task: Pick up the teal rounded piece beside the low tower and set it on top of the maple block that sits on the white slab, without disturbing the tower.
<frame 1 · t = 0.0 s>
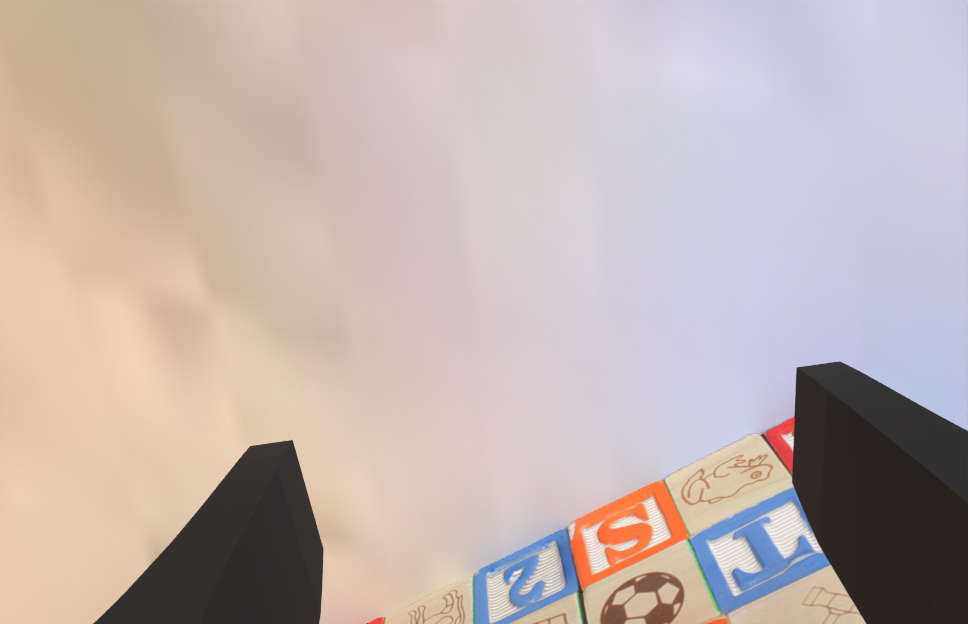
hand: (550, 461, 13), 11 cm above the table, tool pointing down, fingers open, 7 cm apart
stack of blocks: (565, 618, 26), on the table
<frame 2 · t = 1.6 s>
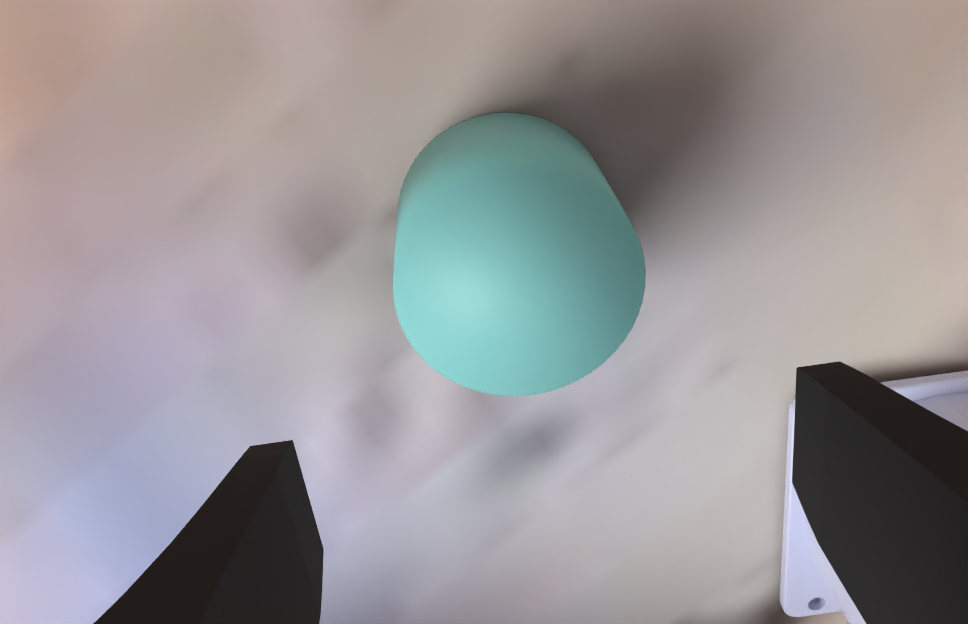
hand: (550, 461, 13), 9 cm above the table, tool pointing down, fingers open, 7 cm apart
teal rounded piece: (503, 216, 21), on the table
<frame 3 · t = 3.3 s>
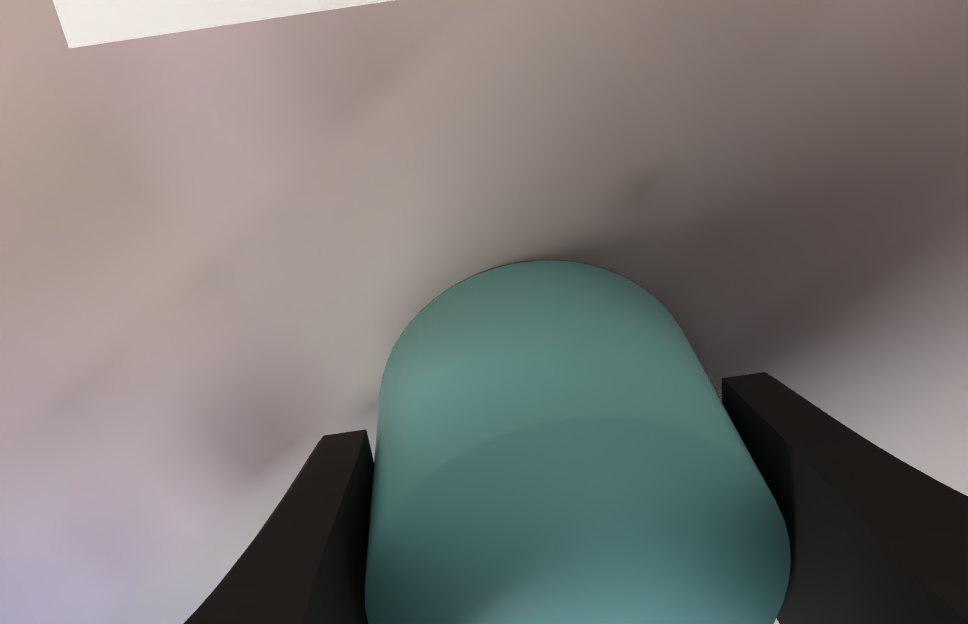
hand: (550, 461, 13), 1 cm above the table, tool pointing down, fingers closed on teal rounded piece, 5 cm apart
teal rounded piece: (539, 405, 14), on the table, touching gripper
when the fingers open (7 cm above the table, at t = 7.1 s): teal rounded piece drops 1 cm, resting on maple block.
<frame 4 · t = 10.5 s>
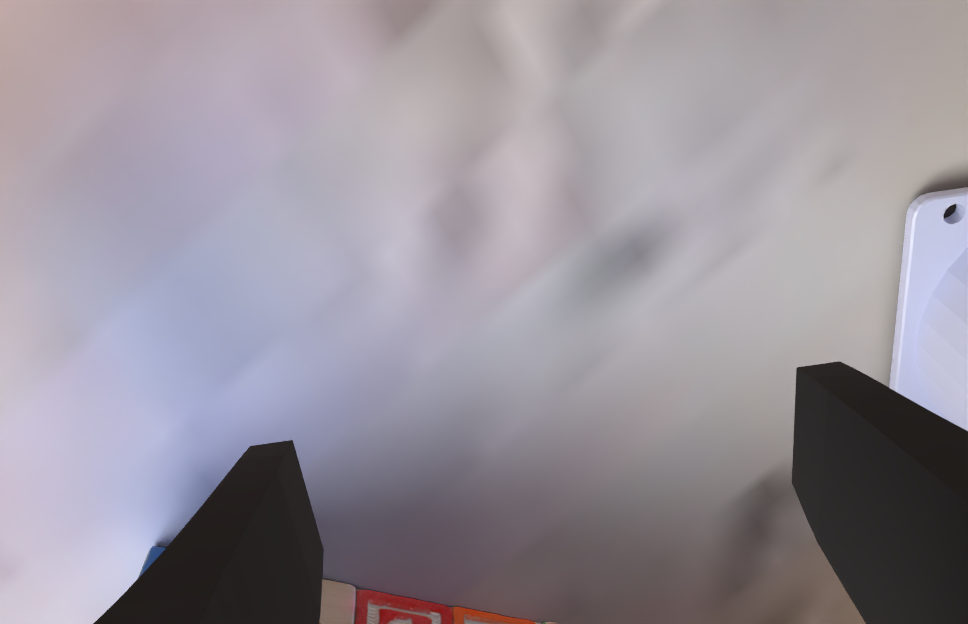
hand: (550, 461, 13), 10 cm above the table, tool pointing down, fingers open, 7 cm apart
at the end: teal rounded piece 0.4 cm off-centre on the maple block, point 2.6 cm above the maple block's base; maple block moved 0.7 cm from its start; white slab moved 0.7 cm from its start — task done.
